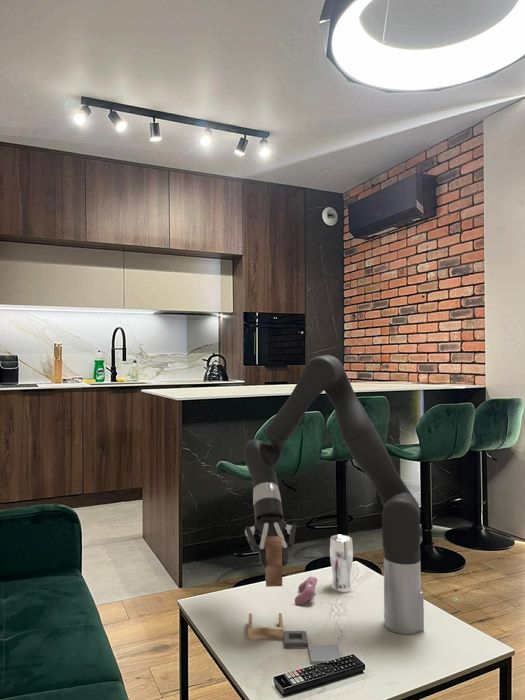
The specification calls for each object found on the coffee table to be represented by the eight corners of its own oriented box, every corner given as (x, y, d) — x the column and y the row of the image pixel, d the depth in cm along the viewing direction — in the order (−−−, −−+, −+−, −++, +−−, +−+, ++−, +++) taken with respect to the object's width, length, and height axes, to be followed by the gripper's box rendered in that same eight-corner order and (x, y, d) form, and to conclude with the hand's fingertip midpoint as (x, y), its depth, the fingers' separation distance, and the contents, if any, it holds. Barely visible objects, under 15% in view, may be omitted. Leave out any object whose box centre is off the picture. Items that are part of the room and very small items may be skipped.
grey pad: (337, 647, 123) (337, 644, 123) (342, 663, 116) (342, 661, 116) (308, 647, 123) (308, 644, 123) (311, 664, 116) (311, 661, 116)
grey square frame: (305, 635, 128) (305, 630, 128) (308, 647, 122) (308, 642, 122) (283, 635, 128) (283, 631, 128) (284, 648, 122) (284, 642, 122)
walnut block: (281, 579, 131) (280, 535, 132) (282, 586, 127) (281, 541, 128) (265, 580, 131) (264, 536, 131) (266, 586, 127) (265, 541, 127)
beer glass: (356, 586, 157) (356, 537, 158) (347, 595, 151) (347, 543, 152) (335, 581, 161) (335, 533, 161) (326, 589, 155) (325, 539, 155)
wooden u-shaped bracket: (281, 622, 134) (281, 613, 135) (283, 639, 126) (283, 628, 126) (248, 623, 134) (248, 613, 134) (248, 639, 126) (248, 629, 126)
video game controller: (307, 612, 144) (318, 590, 144) (292, 603, 145) (304, 581, 144) (311, 596, 154) (321, 576, 153) (297, 588, 154) (307, 568, 154)
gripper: (242, 497, 136) (247, 560, 124) (295, 495, 138) (305, 557, 126) (240, 512, 141) (245, 574, 129) (291, 509, 143) (301, 570, 131)
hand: (274, 565), depth 127 cm, fingers closed on walnut block, 4 cm apart
